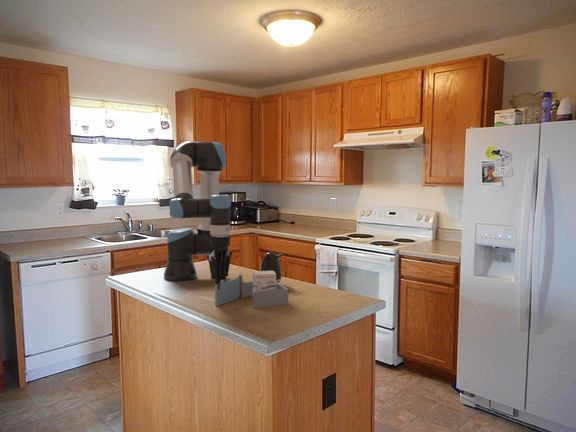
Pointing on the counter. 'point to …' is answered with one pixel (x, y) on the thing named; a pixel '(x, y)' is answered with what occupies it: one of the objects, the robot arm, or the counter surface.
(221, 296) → the blue-grey flat plate
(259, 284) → the ink box
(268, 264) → the pump dispenser
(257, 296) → the grey open box
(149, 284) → the counter surface
